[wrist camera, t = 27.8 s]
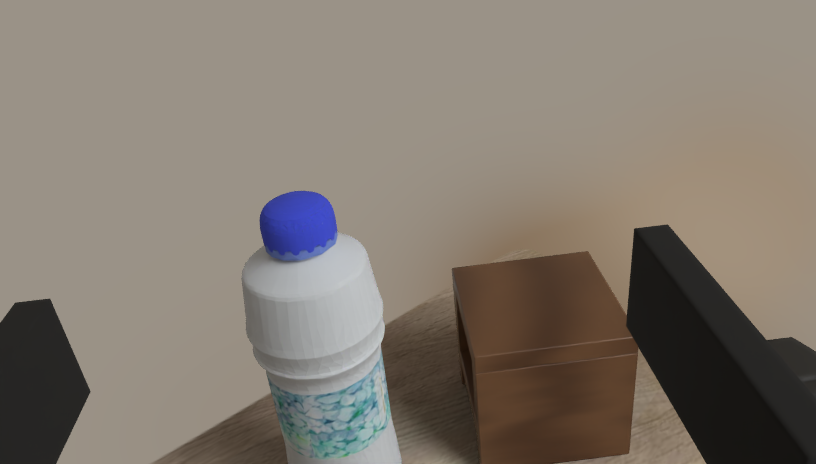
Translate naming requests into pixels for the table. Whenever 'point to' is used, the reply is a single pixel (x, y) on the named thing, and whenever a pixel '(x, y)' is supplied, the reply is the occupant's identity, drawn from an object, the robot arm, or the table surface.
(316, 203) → the bottle
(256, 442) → the table surface
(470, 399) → the wooden nightstand
